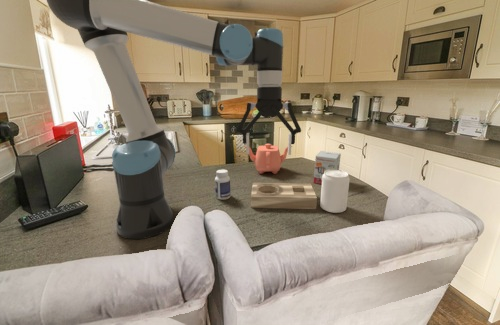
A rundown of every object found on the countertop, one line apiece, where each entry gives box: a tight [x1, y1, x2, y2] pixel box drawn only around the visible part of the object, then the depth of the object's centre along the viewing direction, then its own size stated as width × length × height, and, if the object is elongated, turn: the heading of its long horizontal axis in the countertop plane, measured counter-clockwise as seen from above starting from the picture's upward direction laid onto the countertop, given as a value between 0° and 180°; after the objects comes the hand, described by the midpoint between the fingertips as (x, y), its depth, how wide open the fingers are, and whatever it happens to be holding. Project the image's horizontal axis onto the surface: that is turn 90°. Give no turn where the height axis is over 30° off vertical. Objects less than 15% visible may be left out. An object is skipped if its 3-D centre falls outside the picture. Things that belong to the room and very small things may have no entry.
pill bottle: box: [214, 169, 231, 200], centre depth 90 cm, size 5×5×10 cm
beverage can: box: [319, 169, 351, 214], centre depth 80 cm, size 8×8×12 cm
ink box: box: [313, 150, 342, 185], centre depth 103 cm, size 9×9×12 cm
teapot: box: [243, 143, 293, 174], centre depth 117 cm, size 15×17×13 cm
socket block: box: [250, 182, 318, 210], centre depth 87 cm, size 12×21×4 cm, turn 86°
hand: (268, 153), depth 83 cm, fingers open, 13 cm apart
